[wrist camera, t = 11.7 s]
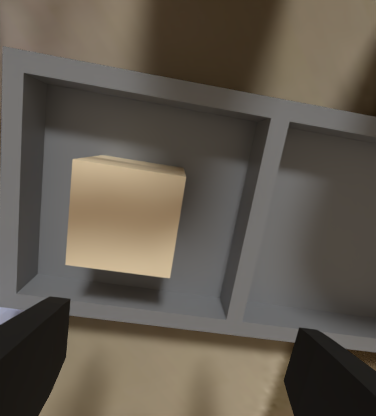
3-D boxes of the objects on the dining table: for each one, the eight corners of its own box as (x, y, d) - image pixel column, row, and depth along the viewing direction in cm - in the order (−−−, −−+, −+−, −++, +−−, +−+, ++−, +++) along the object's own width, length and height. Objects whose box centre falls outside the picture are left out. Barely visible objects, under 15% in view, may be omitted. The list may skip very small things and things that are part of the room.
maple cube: (171, 242, 18) (169, 278, 13) (95, 232, 18) (65, 265, 13) (183, 167, 17) (186, 176, 12) (102, 155, 17) (72, 159, 12)
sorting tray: (401, 330, 21) (437, 359, 18) (25, 281, 19) (-3, 306, 16) (471, 145, 18) (528, 145, 15) (34, 64, 16) (2, 46, 13)
